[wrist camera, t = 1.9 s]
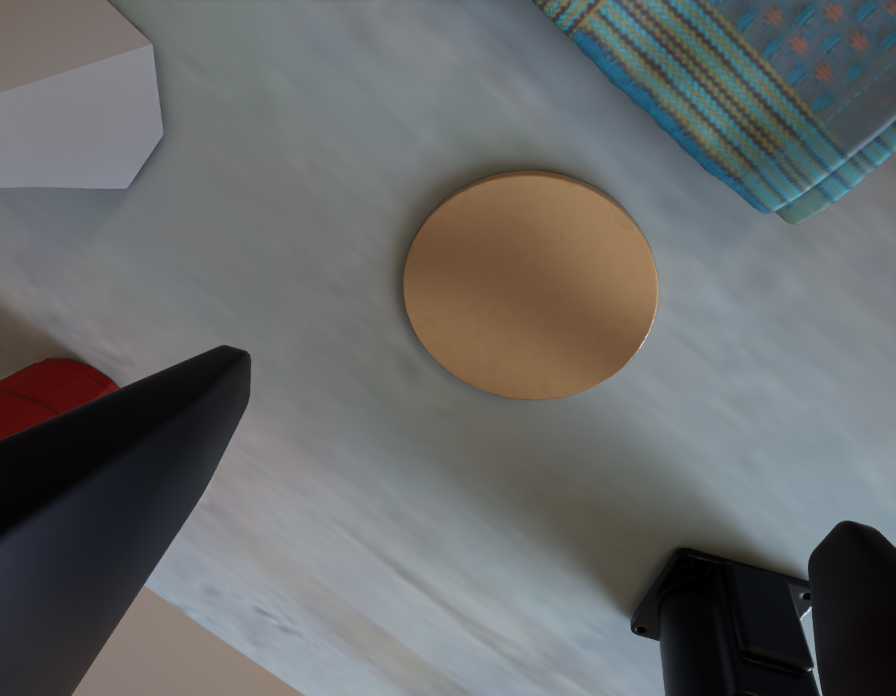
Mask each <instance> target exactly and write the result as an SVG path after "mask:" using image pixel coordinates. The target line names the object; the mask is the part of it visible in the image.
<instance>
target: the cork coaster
mask: <svg viewBox="0 0 896 696" xmlns="http://www.w3.org/2000/svg"><path fill="white" fill-rule="evenodd" d="M658 289H659V287H658V277H657V270H656V265H655V262H654V258H653V254H652V251H651V249H650V246H649V244H648V242H647V239H646V237H645V235H644V234H643V232H642V231H641V229H640V228H639V226H638V224H637V223H636V222H635V220H634V219H633V218H632V217H631V216H630V215H629V214H628V212H627V211H626V210H625V209H624V208H623V207H622V206H620V205H619V204H618V203H617V202H616V201H615V200H614V199H612V198H611V197H609V196H608V195H606V194H605V193H603V192H602V191H600V190H599V189H597V188H595V187H593V186H591V185H589V184H587V183H585V182H582V181H580V180H577V179H574V178H571V177H568V176H565V175H560V174H555V173H550V172H542V171H516V172H506V173H501V174H497V175H492V176H489V177H486V178H483V179H480V180H477V181H474V182H472V183H470V184H468V185H466V186H464V187H462V188H461V189H459V190H457V191H456V192H454V193H453V194H451V195H450V196H449V197H447V198H446V199H445V200H443V201H442V202H441V203H440V204H439V205H438V206H437V207H436V208H435V209H434V210H433V211H432V212H431V213H430V215H429V216H428V217H427V218H426V219H425V221H424V222H423V224H422V225H421V227H420V229H419V230H418V232H417V234H416V235H415V237H414V239H413V241H412V244H411V246H410V249H409V251H408V254H407V258H406V262H405V266H404V274H403V296H404V301H405V306H406V311H407V314H408V317H409V320H410V323H411V325H412V327H413V329H414V331H415V333H416V335H417V337H418V338H419V340H420V341H421V343H422V344H423V346H424V347H425V349H426V350H427V351H428V352H429V353H430V355H431V356H432V357H433V358H434V359H435V360H436V361H437V362H438V363H439V364H440V365H441V366H442V367H444V368H445V369H446V370H447V371H449V372H450V373H451V374H453V375H454V376H455V377H457V378H459V379H460V380H462V381H464V382H466V383H467V384H469V385H471V386H474V387H476V388H478V389H480V390H483V391H486V392H489V393H492V394H495V395H499V396H504V397H508V398H515V399H524V400H543V399H553V398H559V397H564V396H569V395H573V394H576V393H579V392H582V391H585V390H587V389H589V388H591V387H594V386H596V385H598V384H600V383H601V382H603V381H605V380H606V379H608V378H610V377H611V376H613V375H614V374H615V373H616V372H618V371H619V370H620V369H621V368H623V367H624V366H625V365H626V364H627V363H628V362H629V361H630V360H631V359H632V358H633V356H634V355H635V354H636V352H637V351H638V350H639V348H640V347H641V346H642V344H643V343H644V341H645V339H646V337H647V335H648V333H649V332H650V329H651V326H652V324H653V321H654V318H655V314H656V309H657V304H658Z"/></svg>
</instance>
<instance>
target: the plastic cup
mask: <svg viewBox="0 0 896 696" xmlns="http://www.w3.org/2000/svg"><path fill="white" fill-rule="evenodd" d="M118 389H120V388H119V387H118V386H117V385H116V384H115V383H114V382H113V381H112V380H111V379H109V378H108V377H106V376H105V375H103V374H101V373H100V372H98V371H97V370H95V369H94V368H92V367H90V366H87V365H85V364H82V363H79V362H76V361H73V360H70V359H46V360H44V361H42V362H40V363H34V364H32V365H30V366H28V367H26V368H24V369H22V370H20V371H18V372H16V373H14V374H13V375H11V376H9V377H7V378H5V379H3V380H2V381H0V440H1V439H4V438H6V437H8V436H11V435H13V434H15V433H18V432H20V431H22V430H25V429H27V428H29V427H32V426H34V425H36V424H39V423H41V422H43V421H46V420H48V419H50V418H53V417H55V416H57V415H60V414H62V413H64V412H67V411H69V410H71V409H74V408H76V407H78V406H81V405H83V404H85V403H88V402H90V401H92V400H95V399H97V398H99V397H102V396H104V395H106V394H109V393H111V392H113V391H116V390H118Z"/></svg>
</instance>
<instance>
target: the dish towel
mask: <svg viewBox="0 0 896 696" xmlns="http://www.w3.org/2000/svg"><path fill="white" fill-rule="evenodd" d="M532 1H533V2H534V3H535V4H536V5H537V6H538V7H539V8H540V9H541V10H542V11H543V12H544V13H545V14H546V15H547V16H548V17H549V18H550V19H551V20H552V21H553V22H554V23H555V24H556V25H557V26H558V27H559V28H560V29H561V30H562V31H563V32H564V33H565V34H566V35H567V36H568V37H569V38H570V39H571V40H573V41H574V42H575V43H576V44H577V45H578V47H579V48H580V49H581V50H582V52H583V53H584V54H585V55H586V56H587V57H588V58H590V59H591V60H592V61H593V62H594V63H595V64H596V65H597V66H598V67H599V68H600V70H601V71H602V72H603V73H604V74H605V76H606V77H607V78H608V79H609V81H610V82H611V83H613V84H614V85H615V86H617V87H618V88H619V89H621V90H622V91H623V92H625V93H626V94H627V95H628V96H629V97H630V99H631V100H632V101H633V102H634V103H635V104H636V105H638V106H639V107H641V108H642V109H643V110H645V111H646V112H647V113H649V114H650V115H651V116H652V117H653V119H654V120H655V122H656V123H657V124H658V126H659V127H660V128H661V129H663V130H664V131H666V132H667V133H668V134H669V135H670V136H671V137H672V138H673V139H675V140H676V142H677V143H678V144H679V146H680V147H681V148H682V149H683V150H685V151H686V152H687V153H688V154H690V155H691V156H692V157H693V158H694V159H695V160H696V161H697V162H699V163H700V165H701V166H702V167H703V168H704V170H706V171H707V172H709V173H710V174H712V175H714V176H715V177H717V178H718V179H720V180H721V181H723V182H724V183H726V184H727V185H728V186H729V187H731V188H732V189H733V190H734V191H735V192H736V193H737V194H739V195H740V196H741V197H742V198H743V199H744V200H745V201H747V202H748V203H749V204H750V205H751V206H752V207H753V208H755V209H757V210H758V211H760V212H762V213H766V214H768V213H772V212H775V213H776V214H778V215H779V216H780V217H781V218H782V219H784V220H785V221H786V222H787V223H789V224H790V225H798V224H800V223H801V222H803V221H805V220H806V219H808V218H809V217H812V216H814V215H817V214H819V213H820V212H822V211H823V210H825V209H826V208H827V207H828V206H830V205H831V204H832V203H833V202H835V201H836V200H838V199H839V198H840V197H842V196H843V195H844V194H846V193H847V192H848V191H849V190H850V189H852V188H853V187H854V186H855V185H856V184H857V183H859V182H860V181H861V180H862V179H863V178H864V177H866V176H867V175H868V174H869V173H870V172H872V171H873V170H874V169H875V168H876V167H877V166H879V165H880V164H881V163H882V162H883V161H884V160H885V159H887V158H888V157H889V156H890V155H892V154H893V153H894V152H895V151H896V0H532Z"/></svg>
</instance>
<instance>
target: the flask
mask: <svg viewBox="0 0 896 696" xmlns="http://www.w3.org/2000/svg"><path fill="white" fill-rule="evenodd" d="M163 135H164V133H163V125H162V117H161V109H160V101H159V92H158V84H157V76H156V68H155V60H154V52H153V44H152V43H151V42H150V41H149V40H148V39H147V38H146V37H145V36H144V35H143V34H141V33H140V32H139V31H138V30H137V29H136V28H135V27H134V26H133V25H132V24H131V23H130V22H129V21H128V20H127V19H126V18H125V17H124V16H123V15H122V14H120V13H119V12H118V11H117V10H116V9H115V8H114V7H113V6H112V5H111V4H110V3H109V2H108V1H107V0H0V188H27V187H54V188H93V189H127V188H128V187H129V185H130V184H131V182H132V181H133V179H134V178H135V176H136V175H137V173H138V172H139V170H140V169H141V167H142V166H143V164H144V163H145V161H146V160H147V158H148V157H149V155H150V154H151V153H152V151H153V150H154V148H155V147H156V145H157V144H158V142H159V141H160V139H161V138H162V136H163Z"/></svg>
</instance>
